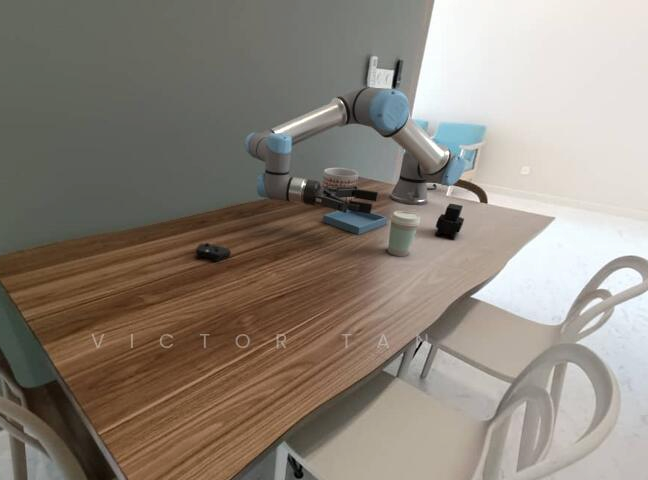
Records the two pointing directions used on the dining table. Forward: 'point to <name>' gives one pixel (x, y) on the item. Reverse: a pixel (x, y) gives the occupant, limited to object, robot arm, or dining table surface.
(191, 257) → the dining table surface
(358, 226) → the tray
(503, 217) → the dining table surface
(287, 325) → the dining table surface
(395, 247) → the coffee cup
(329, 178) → the planter
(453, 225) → the toy
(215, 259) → the game controller
